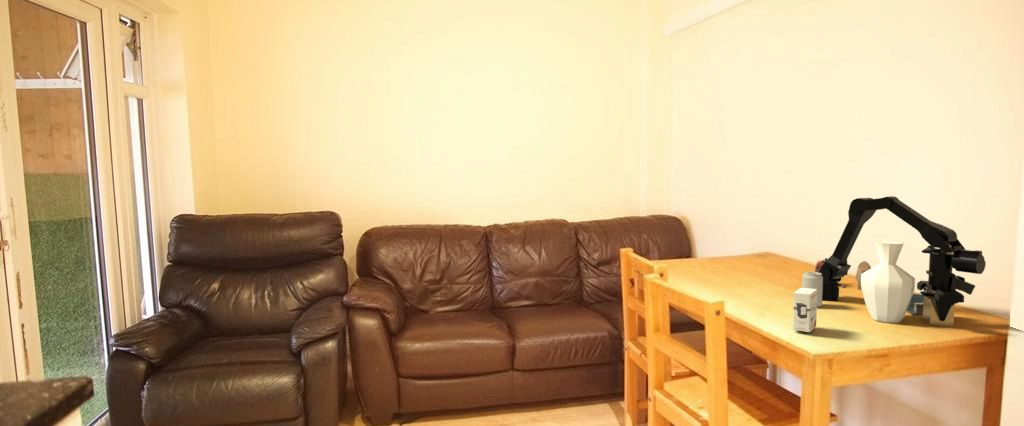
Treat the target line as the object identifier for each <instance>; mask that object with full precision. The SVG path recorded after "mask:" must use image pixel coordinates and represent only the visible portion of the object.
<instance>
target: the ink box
mask: <svg viewBox="0 0 1024 426" xmlns="http://www.w3.org/2000/svg"><path fill="white" fill-rule="evenodd" d="M792 310H793V312H792V315H793V316H792V330H794V331H799V332H804V333H805V332H806V333H811V332H812V331H813V330H815V328H816V327H817V311H818V308H817V289H809V288H802V287H800V288H798V289H797V290H795V291H794V292H793V309H792Z"/></svg>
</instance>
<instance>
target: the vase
mask: <svg viewBox="0 0 1024 426" xmlns="http://www.w3.org/2000/svg"><path fill="white" fill-rule="evenodd" d="M874 245H875V248H876V252H877V256H878V260H879V263H878V264H877V265H874V266H873V267H871V269H869V270H868V271H866V272H864V273H862V274H861V288H862V290H861V292H862V296H863V299H864V302H865V307H866V310H867V311H868V313H869V315H870V316H871V318H872V320H874V321H876V322H881V323H886V324H899V323H901V322H902V320H903V319H904V318H905V315H906V313H907V311H906V310H907V308H908V305H909V303H910V301H911V298H912V296H913V293H914V291H915V287H916V278H915V277H914V276H913V275H912V274H909V273H908V272H907V271H905V269H903V268H902V267H900V266H899V265H897V262H898V259H899V257H900V253H901V251H902V248H903V246H904V242H902V241H894V240H893V241H892V240H875V241H874Z"/></svg>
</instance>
